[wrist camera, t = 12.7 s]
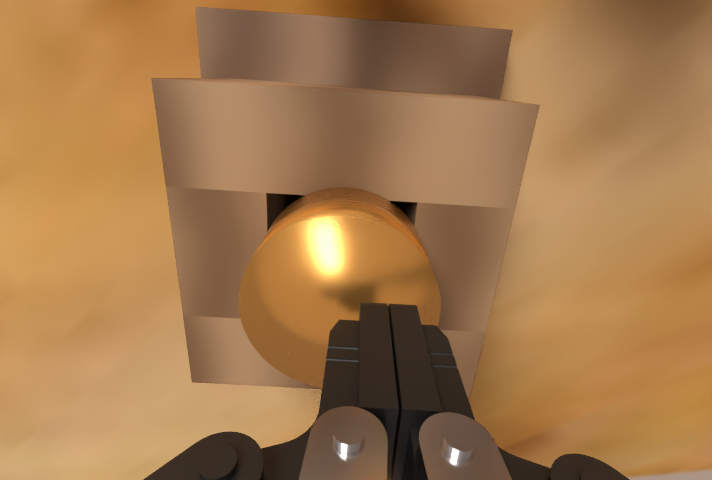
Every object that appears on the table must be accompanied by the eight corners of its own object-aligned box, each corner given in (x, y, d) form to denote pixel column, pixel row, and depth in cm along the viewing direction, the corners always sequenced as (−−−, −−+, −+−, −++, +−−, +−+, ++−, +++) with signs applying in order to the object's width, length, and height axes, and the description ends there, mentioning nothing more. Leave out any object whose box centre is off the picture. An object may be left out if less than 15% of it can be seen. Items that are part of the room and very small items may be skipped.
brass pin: (409, 155, 19) (456, 223, 10) (397, 260, 22) (426, 393, 13) (291, 147, 19) (232, 209, 10) (292, 254, 22) (243, 384, 12)
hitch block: (501, 33, 19) (619, -4, 11) (446, 325, 26) (490, 447, 18) (206, 12, 19) (80, -45, 10) (230, 313, 26) (165, 431, 17)
